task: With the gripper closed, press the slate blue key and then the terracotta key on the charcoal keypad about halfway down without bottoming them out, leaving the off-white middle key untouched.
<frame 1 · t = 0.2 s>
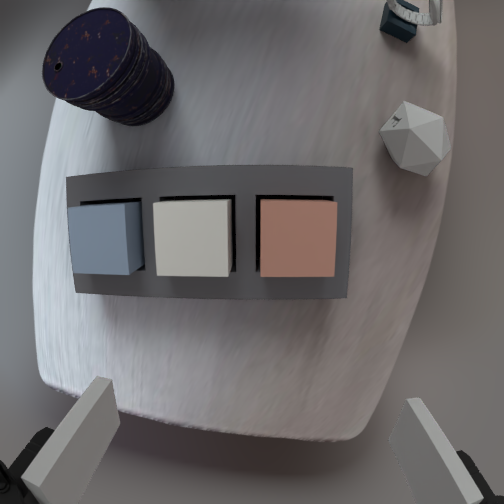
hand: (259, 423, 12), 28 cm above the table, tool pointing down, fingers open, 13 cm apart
slate blue key: (107, 236, 32), point 7 cm above the table, slide at 0.0 cm
die: (402, 143, 36), on the table
white key: (195, 235, 31), point 7 cm above the table, slide at 0.0 cm
storage jar: (139, 91, 35), on the table
watch: (395, 23, 32), on the table
terracotta key: (295, 235, 31), point 7 cm above the table, slide at 0.0 cm
keypad housing: (206, 226, 38), on the table
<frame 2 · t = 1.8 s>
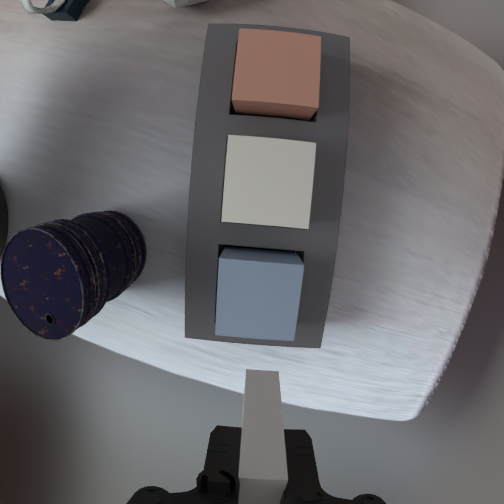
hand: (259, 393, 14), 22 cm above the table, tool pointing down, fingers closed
slate blue key: (258, 292, 29), point 7 cm above the table, slide at 0.0 cm
white key: (267, 181, 27), point 7 cm above the table, slide at 0.0 cm
storage jar: (111, 249, 36), on the table
watch: (71, 8, 29), on the table
terracotta key: (276, 74, 25), point 7 cm above the table, slide at 0.0 cm
keypad housing: (265, 182, 34), on the table
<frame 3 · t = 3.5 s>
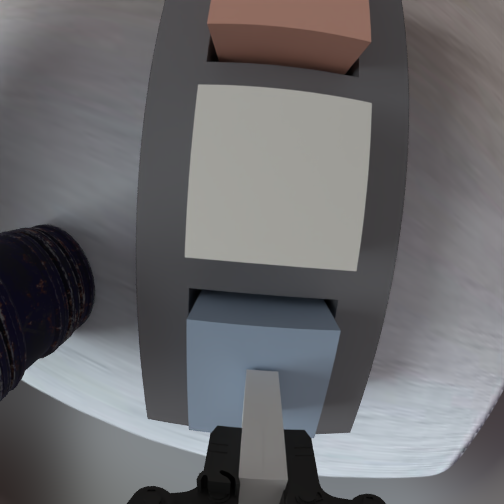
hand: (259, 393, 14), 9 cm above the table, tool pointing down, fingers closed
slate blue key: (257, 363, 17), point 6 cm above the table, slide at 0.7 cm, touching gripper
white key: (276, 177, 14), point 7 cm above the table, slide at 0.0 cm
storage jar: (51, 279, 23), on the table
keypad housing: (270, 180, 21), on the table
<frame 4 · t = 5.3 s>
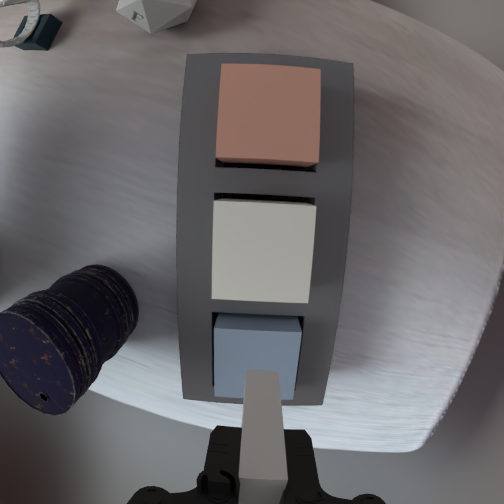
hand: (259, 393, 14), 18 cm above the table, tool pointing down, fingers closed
slate blue key: (256, 352, 28), point 6 cm above the table, slide at 1.3 cm
die: (169, 12, 26), on the table
white key: (262, 247, 24), point 7 cm above the table, slide at 0.0 cm
storage jar: (102, 304, 33), on the table
watch: (42, 36, 26), on the table
terracotta key: (268, 117, 22), point 7 cm above the table, slide at 0.0 cm
keypad housing: (261, 233, 31), on the table
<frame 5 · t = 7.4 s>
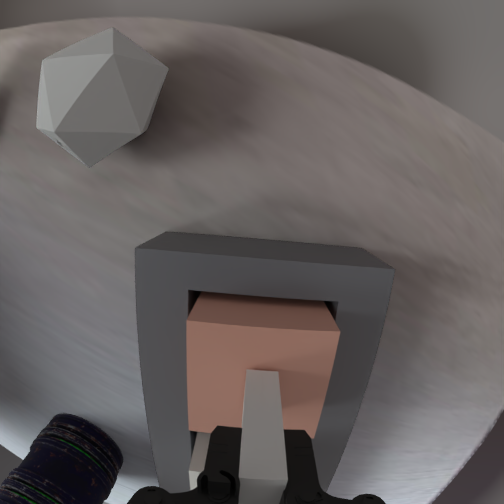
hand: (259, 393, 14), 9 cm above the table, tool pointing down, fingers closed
die: (122, 108, 20), on the table
white key: (244, 477, 18), point 7 cm above the table, slide at 0.0 cm
storage jar: (85, 443, 27), on the table
terracotta key: (257, 363, 17), point 6 cm above the table, slide at 0.8 cm, touching gripper
keypad housing: (247, 419, 25), on the table
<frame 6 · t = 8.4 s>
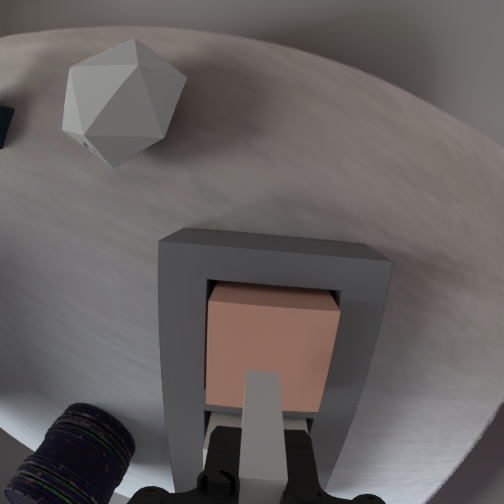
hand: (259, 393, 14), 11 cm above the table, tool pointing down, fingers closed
die: (142, 113, 22), on the table
white key: (254, 459, 20), point 7 cm above the table, slide at 0.0 cm
storage jar: (99, 432, 29), on the table
terracotta key: (268, 343, 19), point 6 cm above the table, slide at 1.3 cm
keypad housing: (256, 405, 27), on the table
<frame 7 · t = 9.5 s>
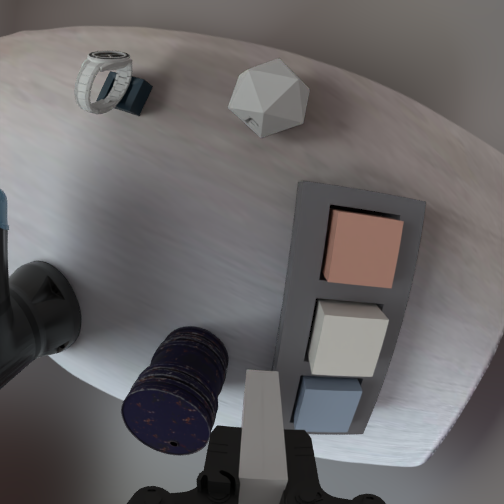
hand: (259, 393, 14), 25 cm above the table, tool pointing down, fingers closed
slate blue key: (325, 400, 36), point 6 cm above the table, slide at 1.3 cm
die: (270, 106, 35), on the table
white key: (345, 337, 33), point 7 cm above the table, slide at 0.0 cm
storage jar: (194, 356, 42), on the table
watch: (129, 95, 36), on the table
terracotta key: (360, 246, 32), point 6 cm above the table, slide at 1.3 cm
keypad housing: (334, 314, 40), on the table
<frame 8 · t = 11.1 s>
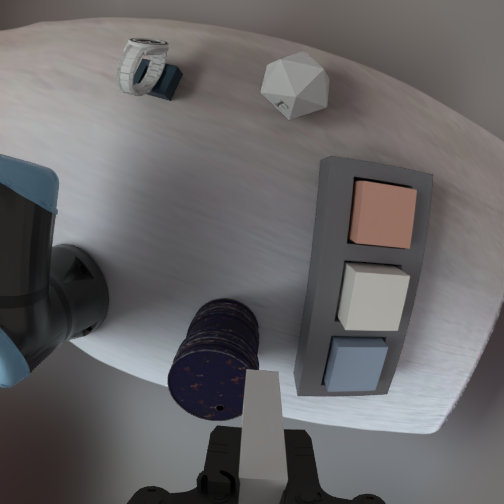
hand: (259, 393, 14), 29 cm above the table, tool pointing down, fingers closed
slate blue key: (353, 360, 40), point 6 cm above the table, slide at 1.3 cm
die: (293, 93, 39), on the table
white key: (371, 296, 36), point 7 cm above the table, slide at 0.0 cm
storage jar: (225, 328, 45), on the table
watch: (160, 82, 38), on the table
terracotta key: (380, 213, 36), point 6 cm above the table, slide at 1.3 cm
keypad housing: (355, 280, 43), on the table
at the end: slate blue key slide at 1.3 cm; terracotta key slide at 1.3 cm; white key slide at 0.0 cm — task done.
